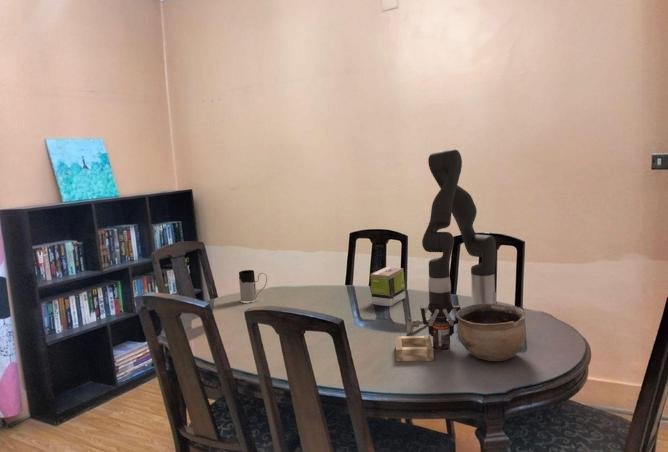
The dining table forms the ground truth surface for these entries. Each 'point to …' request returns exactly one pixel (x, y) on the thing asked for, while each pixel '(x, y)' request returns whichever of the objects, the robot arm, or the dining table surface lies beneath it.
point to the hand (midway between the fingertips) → (441, 335)
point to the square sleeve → (414, 348)
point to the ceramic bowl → (491, 330)
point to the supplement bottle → (441, 333)
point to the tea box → (387, 286)
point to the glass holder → (248, 285)
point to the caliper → (413, 325)
